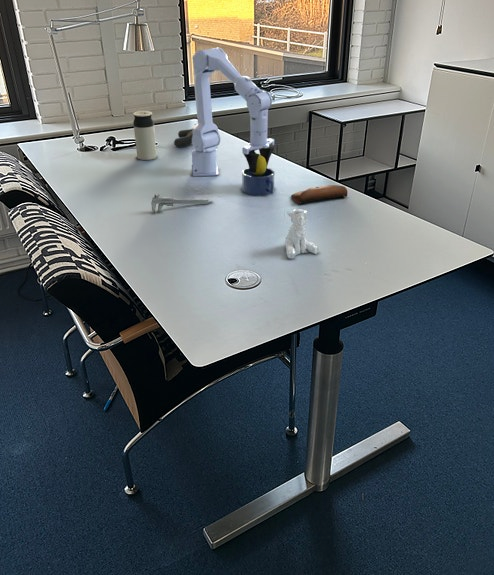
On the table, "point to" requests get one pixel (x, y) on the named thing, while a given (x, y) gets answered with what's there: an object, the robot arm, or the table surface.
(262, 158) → the lemon
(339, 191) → the sunglasses case
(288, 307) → the table surface
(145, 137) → the travel mug
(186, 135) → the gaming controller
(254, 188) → the blue mug
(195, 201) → the caliper
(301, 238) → the sitting furry creature
